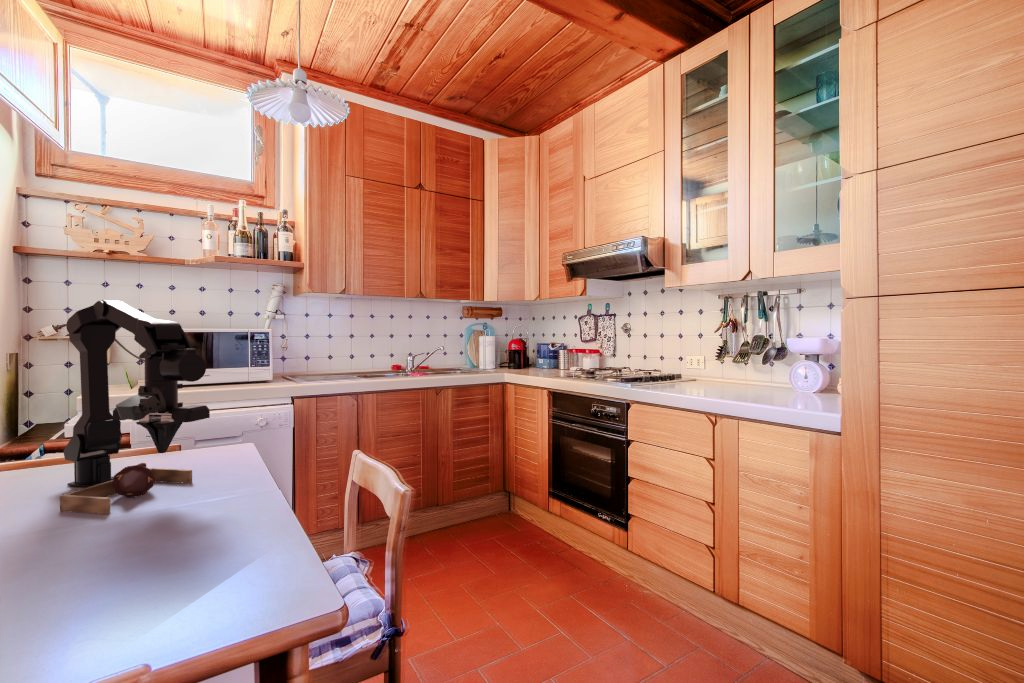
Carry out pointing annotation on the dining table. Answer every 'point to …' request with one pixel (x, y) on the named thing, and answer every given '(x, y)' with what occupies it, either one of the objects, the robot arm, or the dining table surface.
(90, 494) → the holder
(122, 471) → the icecream
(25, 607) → the dining table surface
